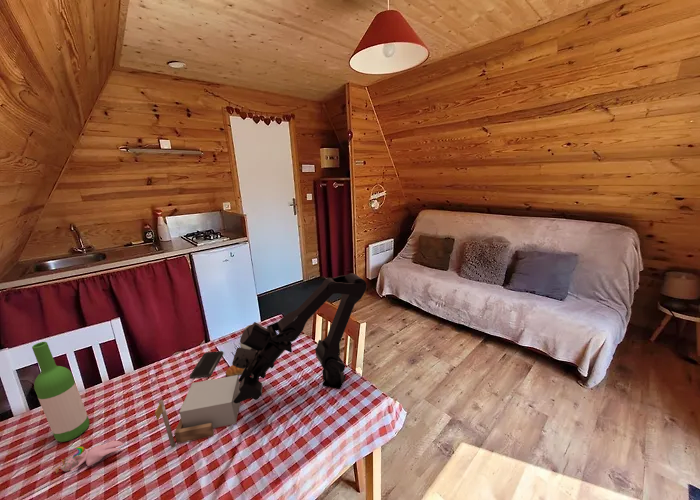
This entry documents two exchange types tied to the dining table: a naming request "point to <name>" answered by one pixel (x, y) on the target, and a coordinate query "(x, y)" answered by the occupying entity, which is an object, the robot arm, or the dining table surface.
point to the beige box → (211, 403)
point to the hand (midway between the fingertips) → (237, 391)
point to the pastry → (233, 371)
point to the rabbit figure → (88, 455)
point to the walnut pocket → (181, 432)
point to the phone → (206, 365)
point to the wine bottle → (59, 396)
